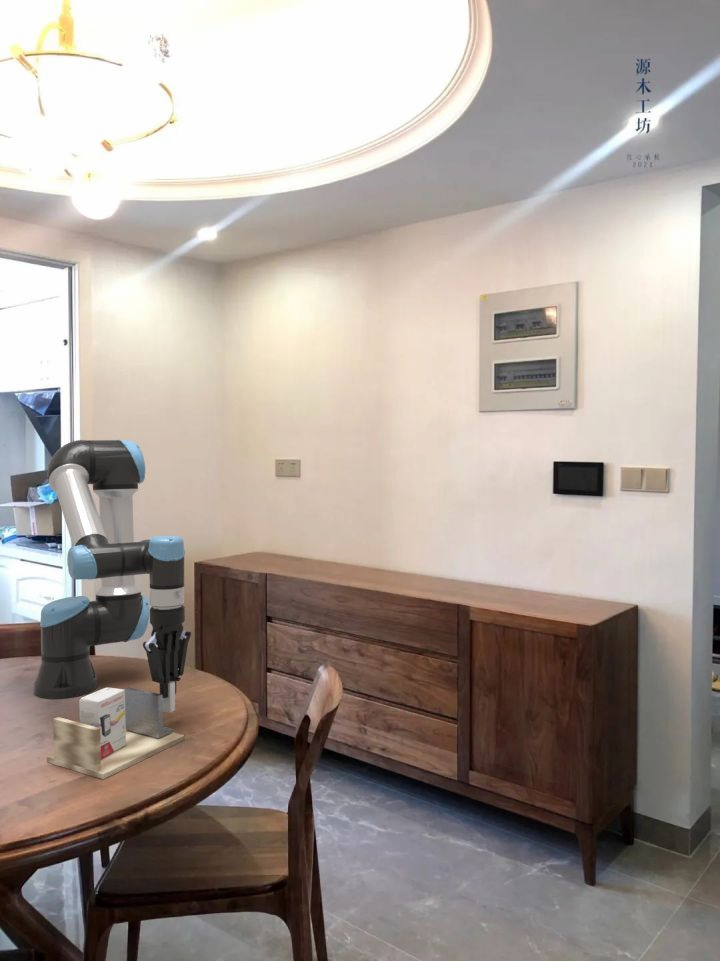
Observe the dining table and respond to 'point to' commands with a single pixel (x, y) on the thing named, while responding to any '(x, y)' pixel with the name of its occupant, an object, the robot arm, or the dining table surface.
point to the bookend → (144, 713)
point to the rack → (83, 748)
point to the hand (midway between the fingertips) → (168, 710)
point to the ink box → (106, 717)
